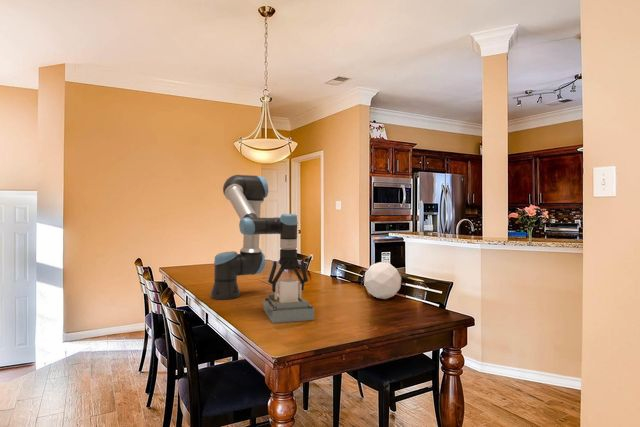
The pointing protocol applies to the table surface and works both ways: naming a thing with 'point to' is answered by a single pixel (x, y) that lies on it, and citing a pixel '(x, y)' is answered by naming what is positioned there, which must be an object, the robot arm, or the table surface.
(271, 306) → the silver and gold block
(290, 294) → the cup
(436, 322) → the table surface
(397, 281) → the geometric sphere
